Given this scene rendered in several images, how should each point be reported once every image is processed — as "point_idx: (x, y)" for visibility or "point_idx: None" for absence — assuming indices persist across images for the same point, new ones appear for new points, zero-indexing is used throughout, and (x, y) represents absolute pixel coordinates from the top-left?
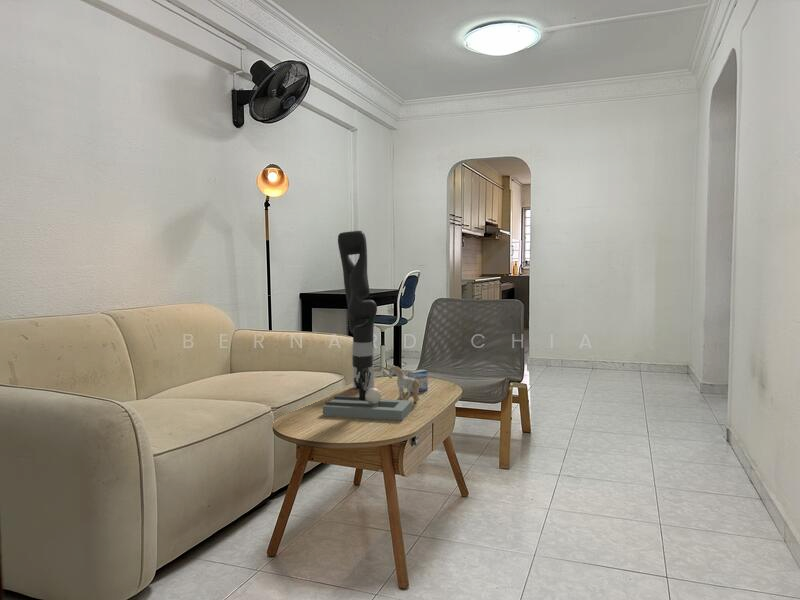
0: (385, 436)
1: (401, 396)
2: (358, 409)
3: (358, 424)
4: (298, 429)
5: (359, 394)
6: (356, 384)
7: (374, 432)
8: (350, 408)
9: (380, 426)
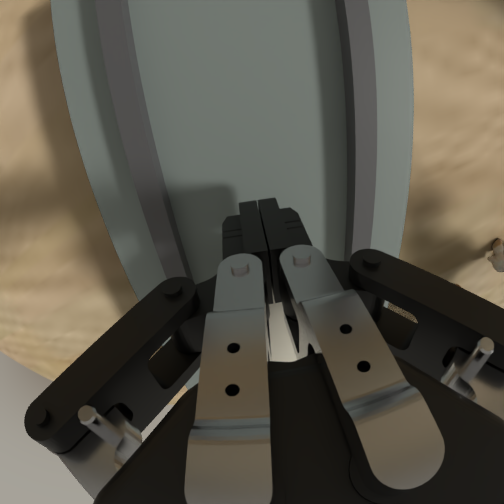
0: (41, 367)
1: (495, 267)
2: (116, 240)
3: (51, 265)
4: None
5: (241, 229)
6: (95, 361)
7: (38, 340)
8: (94, 189)
9: (91, 339)
